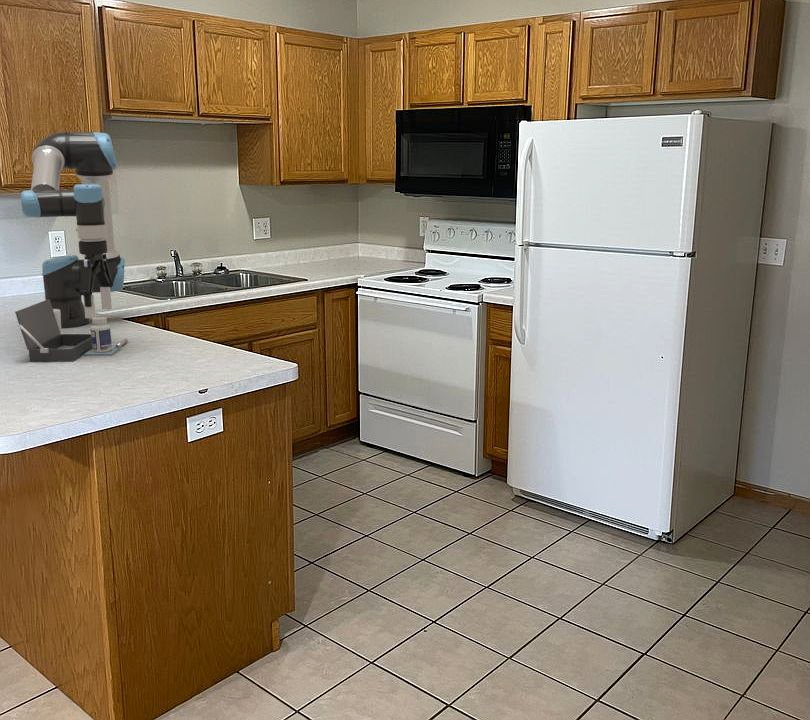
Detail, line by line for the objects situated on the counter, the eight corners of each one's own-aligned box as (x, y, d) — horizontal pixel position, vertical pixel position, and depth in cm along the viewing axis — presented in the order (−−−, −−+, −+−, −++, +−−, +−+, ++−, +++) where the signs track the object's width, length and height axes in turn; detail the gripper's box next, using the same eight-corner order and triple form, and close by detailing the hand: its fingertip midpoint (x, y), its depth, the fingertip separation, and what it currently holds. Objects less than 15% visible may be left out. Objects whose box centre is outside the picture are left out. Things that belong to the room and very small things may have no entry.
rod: (124, 342, 253) (124, 339, 253) (128, 342, 253) (127, 339, 253) (115, 348, 245) (115, 344, 245) (119, 348, 245) (119, 344, 245)
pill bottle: (114, 348, 242) (111, 316, 240) (109, 352, 237) (105, 319, 235) (96, 348, 242) (93, 316, 240) (90, 352, 237) (86, 319, 234)
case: (52, 345, 250) (47, 299, 246) (100, 345, 250) (95, 298, 246) (19, 362, 228) (13, 311, 224) (71, 362, 228) (66, 311, 225)
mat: (93, 350, 243) (93, 348, 243) (120, 349, 243) (120, 347, 243) (83, 356, 235) (83, 354, 235) (111, 355, 235) (111, 353, 235)
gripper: (94, 235, 244) (101, 305, 249) (61, 244, 220) (69, 321, 225) (119, 235, 244) (125, 305, 249) (89, 244, 220) (96, 321, 225)
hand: (99, 313), depth 237 cm, fingers open, 13 cm apart
